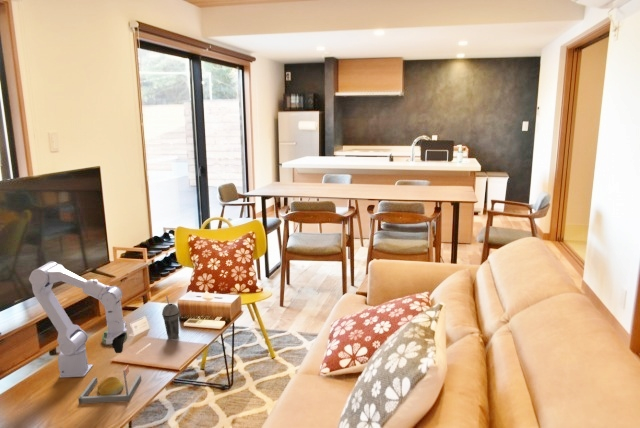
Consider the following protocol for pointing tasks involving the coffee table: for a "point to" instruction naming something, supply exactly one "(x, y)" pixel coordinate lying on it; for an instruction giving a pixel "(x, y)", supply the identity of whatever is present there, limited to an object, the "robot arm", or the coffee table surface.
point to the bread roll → (110, 386)
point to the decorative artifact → (106, 337)
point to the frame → (109, 398)
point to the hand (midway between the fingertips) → (119, 352)
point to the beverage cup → (171, 320)
